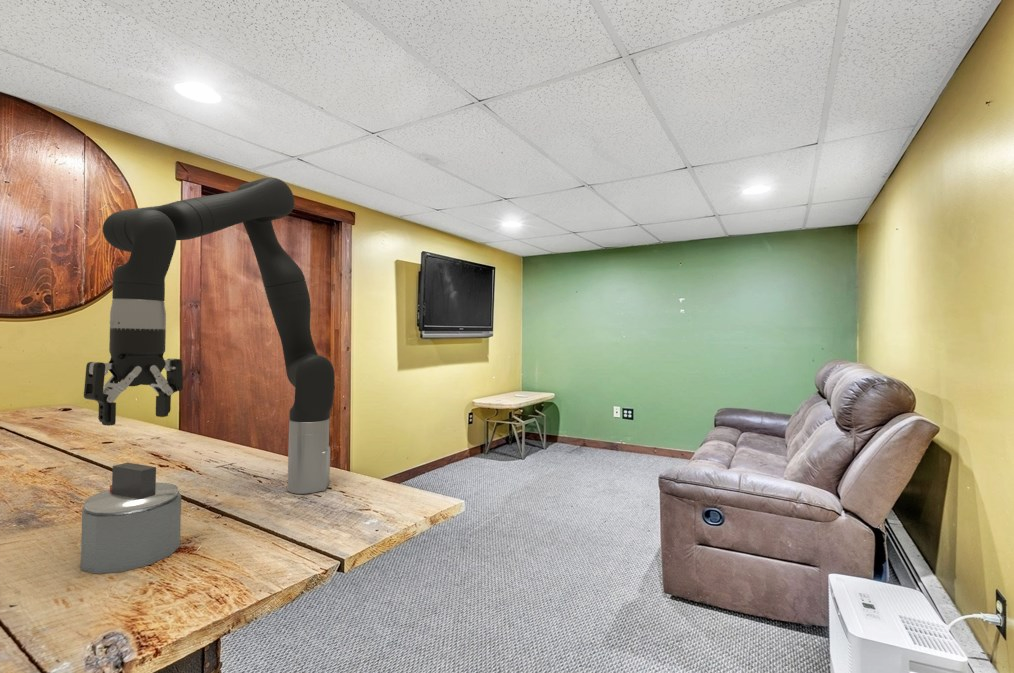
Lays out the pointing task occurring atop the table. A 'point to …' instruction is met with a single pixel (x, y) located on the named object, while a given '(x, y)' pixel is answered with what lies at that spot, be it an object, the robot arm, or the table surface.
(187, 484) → the table surface
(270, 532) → the table surface
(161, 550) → the pot
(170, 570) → the table surface
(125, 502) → the lid
